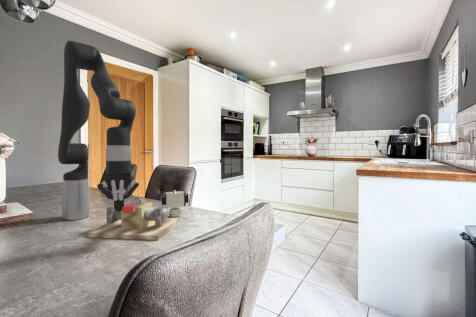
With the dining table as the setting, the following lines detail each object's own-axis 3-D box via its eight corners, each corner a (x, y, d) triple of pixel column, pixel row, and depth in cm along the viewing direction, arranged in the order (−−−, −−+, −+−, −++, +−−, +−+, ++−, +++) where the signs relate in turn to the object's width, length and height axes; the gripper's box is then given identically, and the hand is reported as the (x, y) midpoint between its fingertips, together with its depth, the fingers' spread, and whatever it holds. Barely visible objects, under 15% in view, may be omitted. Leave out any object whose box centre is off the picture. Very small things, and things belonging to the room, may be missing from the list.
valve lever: (133, 202, 90) (133, 197, 90) (142, 202, 91) (142, 196, 91) (122, 213, 75) (122, 207, 75) (133, 213, 76) (132, 206, 76)
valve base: (87, 236, 83) (86, 208, 82) (122, 219, 102) (121, 196, 102) (158, 240, 79) (157, 210, 79) (180, 221, 99) (179, 198, 99)
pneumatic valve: (188, 216, 107) (188, 190, 107) (161, 219, 103) (161, 191, 102) (187, 213, 112) (186, 188, 112) (161, 215, 108) (160, 189, 108)
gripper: (92, 159, 73) (93, 215, 74) (138, 159, 76) (138, 213, 77) (100, 158, 80) (100, 209, 81) (141, 158, 83) (142, 207, 84)
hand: (119, 211), depth 79 cm, fingers closed
